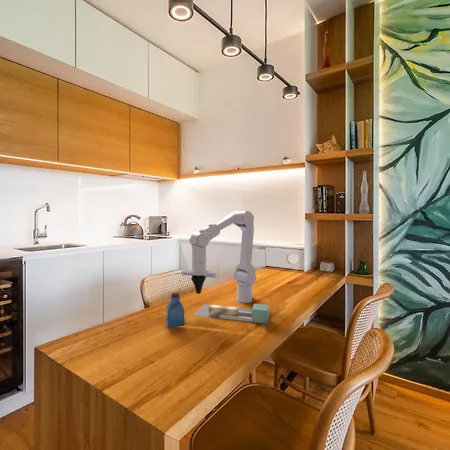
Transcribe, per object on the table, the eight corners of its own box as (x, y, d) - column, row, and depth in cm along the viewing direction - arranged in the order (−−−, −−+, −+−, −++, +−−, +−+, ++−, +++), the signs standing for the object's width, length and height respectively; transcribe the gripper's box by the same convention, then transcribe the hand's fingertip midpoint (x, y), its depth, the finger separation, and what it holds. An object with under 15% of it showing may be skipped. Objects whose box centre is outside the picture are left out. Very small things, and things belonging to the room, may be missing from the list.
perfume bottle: (167, 327, 109) (167, 296, 108) (166, 321, 115) (166, 291, 114) (184, 325, 111) (184, 295, 110) (182, 319, 116) (182, 290, 116)
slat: (208, 315, 119) (208, 306, 119) (210, 312, 122) (210, 304, 122) (237, 318, 116) (237, 309, 116) (238, 315, 119) (238, 307, 119)
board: (203, 306, 132) (203, 293, 132) (269, 313, 125) (270, 299, 125) (193, 317, 118) (193, 303, 118) (266, 326, 111) (267, 310, 111)
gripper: (179, 261, 118) (178, 294, 119) (213, 264, 114) (212, 297, 115) (185, 258, 125) (185, 289, 125) (217, 260, 121) (217, 292, 122)
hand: (198, 293), depth 121 cm, fingers closed
